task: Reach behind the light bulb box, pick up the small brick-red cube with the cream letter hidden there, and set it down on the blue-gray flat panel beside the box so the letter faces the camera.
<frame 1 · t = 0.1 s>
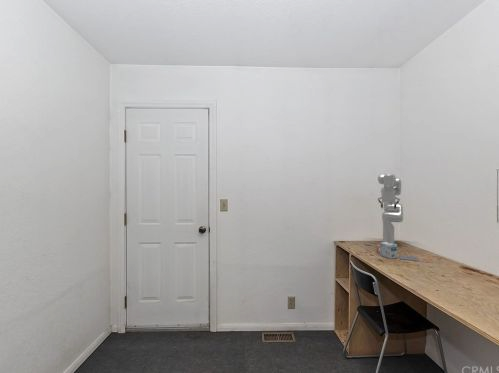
hand: (388, 208, 235), 37 cm above the table, tool pointing down, fingers open, 9 cm apart
light bulb box: (388, 257, 217), on the table
reddish brown cube: (380, 252, 232), on the table
blue-gray flat panel: (408, 258, 213), on the table
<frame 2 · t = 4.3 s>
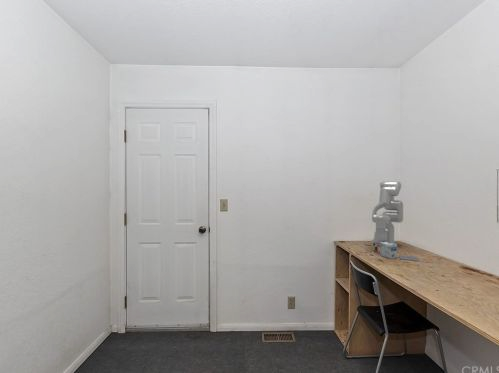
hand: (380, 251, 232), 1 cm above the table, tool pointing down, fingers closed on reddish brown cube, 5 cm apart
reddish brown cube: (380, 252, 232), on the table, touching gripper
everything else where it was.
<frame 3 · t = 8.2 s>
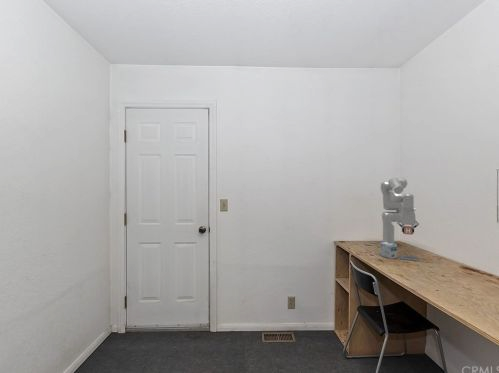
hand: (407, 233, 213), 20 cm above the table, tool pointing down, fingers closed on reddish brown cube, 5 cm apart
reddish brown cube: (407, 233, 213), point 19 cm above the table, touching gripper
everything else where it was.
when the fingers open (2 cm above the table, at t = 12.4 s): reddish brown cube drops 1 cm, resting on blue-gray flat panel.
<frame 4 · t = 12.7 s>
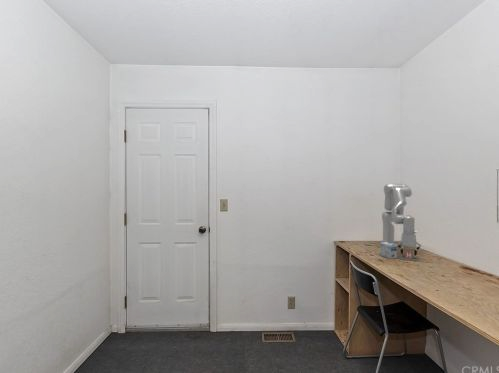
hand: (408, 254, 213), 3 cm above the table, tool pointing down, fingers open, 8 cm apart
reddish brown cube: (408, 257, 213), resting on blue-gray flat panel
everything else where it was.
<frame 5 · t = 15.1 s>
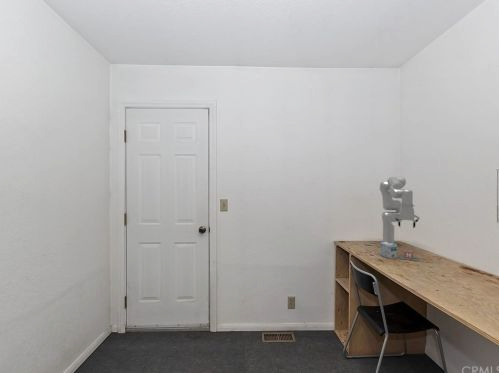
hand: (406, 227, 215), 24 cm above the table, tool pointing down, fingers open, 9 cm apart
nothing on the table moved.
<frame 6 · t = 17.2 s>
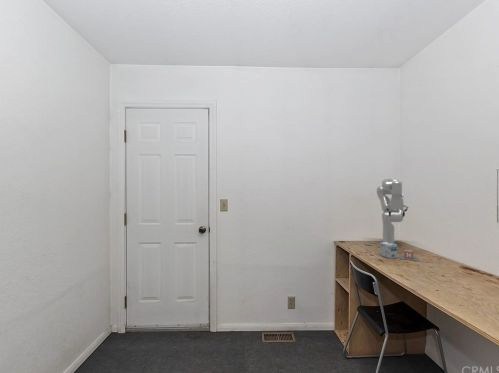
hand: (396, 216, 230), 30 cm above the table, tool pointing down, fingers open, 9 cm apart
nothing on the table moved.
at the end: reddish brown cube inside the target area on the blue-gray flat panel (0.0 cm from its centre), point 0.4 cm above the blue-gray flat panel's base; reddish brown cube tilted 0°; light bulb box moved 0.3 cm from its start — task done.
